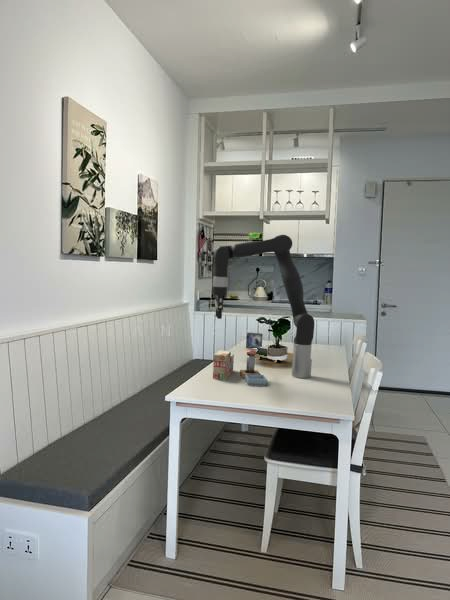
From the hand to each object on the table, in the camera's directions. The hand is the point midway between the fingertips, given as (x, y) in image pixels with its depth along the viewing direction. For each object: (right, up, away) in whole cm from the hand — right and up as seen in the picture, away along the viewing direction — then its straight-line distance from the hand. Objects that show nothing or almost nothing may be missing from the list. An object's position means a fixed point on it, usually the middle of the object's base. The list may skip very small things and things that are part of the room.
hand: (218, 317), depth 242 cm
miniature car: (+30, -28, +46) cm, 62 cm away
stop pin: (+16, -30, -2) cm, 34 cm away
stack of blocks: (+2, -30, +3) cm, 30 cm away
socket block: (+16, -30, -2) cm, 34 cm away
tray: (+18, -31, -12) cm, 38 cm away
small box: (+23, -25, +83) cm, 89 cm away
